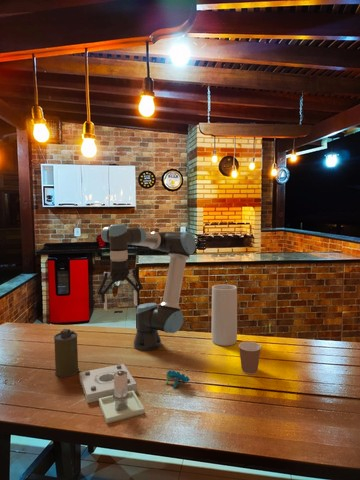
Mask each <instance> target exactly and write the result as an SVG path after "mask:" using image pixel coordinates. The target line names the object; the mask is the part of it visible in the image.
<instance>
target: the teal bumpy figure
mask: <svg viewBox="0 0 360 480" xmlns="http://www.w3.org/2000/svg"><path fill="white" fill-rule="evenodd" d="M165 376H166V385H169V381H170V380H171V381H175V382H174V385H173V388H174V389H176V388H177V385H178V382H180V381H181V382H184V383H185V382H186V383H188V382H190V378H189V376H187V375H186V374H184V373H180V372H179V371H175V370H173V369H172V370H169V369H168V371H167V372H166V374H165Z"/></svg>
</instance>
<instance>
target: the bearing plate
mask: <svg viewBox="0 0 360 480" xmlns="http://www.w3.org/2000/svg"><path fill="white" fill-rule="evenodd" d="M118 371H125V372H127V384H128V392H129V391H134V392H135V393H136V392H137V389H138V388H137V387H138V385H137V382H136V381H135V379H134V377H133V375H132V374H131V373H130V371H129V370H128V368H127V366H126V365H125V364H124V363H121V364H116V365H110V366H106V367H99V368H95V369H91V370H85V371H81V372H79V382H80V385H82V386H81V388H83V389H82V392H83V395H84V394H85V395H84V397H85V400H86V403H87V404H89V403H94V402H99V398H103V397H107V396H112V395H114V373H115V372H118Z"/></svg>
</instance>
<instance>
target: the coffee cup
mask: <svg viewBox="0 0 360 480" xmlns="http://www.w3.org/2000/svg"><path fill="white" fill-rule="evenodd" d="M238 349H239V358H240V368H241V371H242V373H244V374H247V375H255V374H257V373H258V369H259V363H260V355H261V349H262V345H261V344H259V343H257V342H254V341H243V342H240V343H239V344H238Z"/></svg>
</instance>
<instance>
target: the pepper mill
mask: <svg viewBox="0 0 360 480" xmlns="http://www.w3.org/2000/svg"><path fill="white" fill-rule="evenodd" d="M128 398H129V394H128V384H127V372H125V371H118V372H115V373H114V395H113V400H114V408H115V410H117V411H123V410H125V409H127V408H128Z"/></svg>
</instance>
